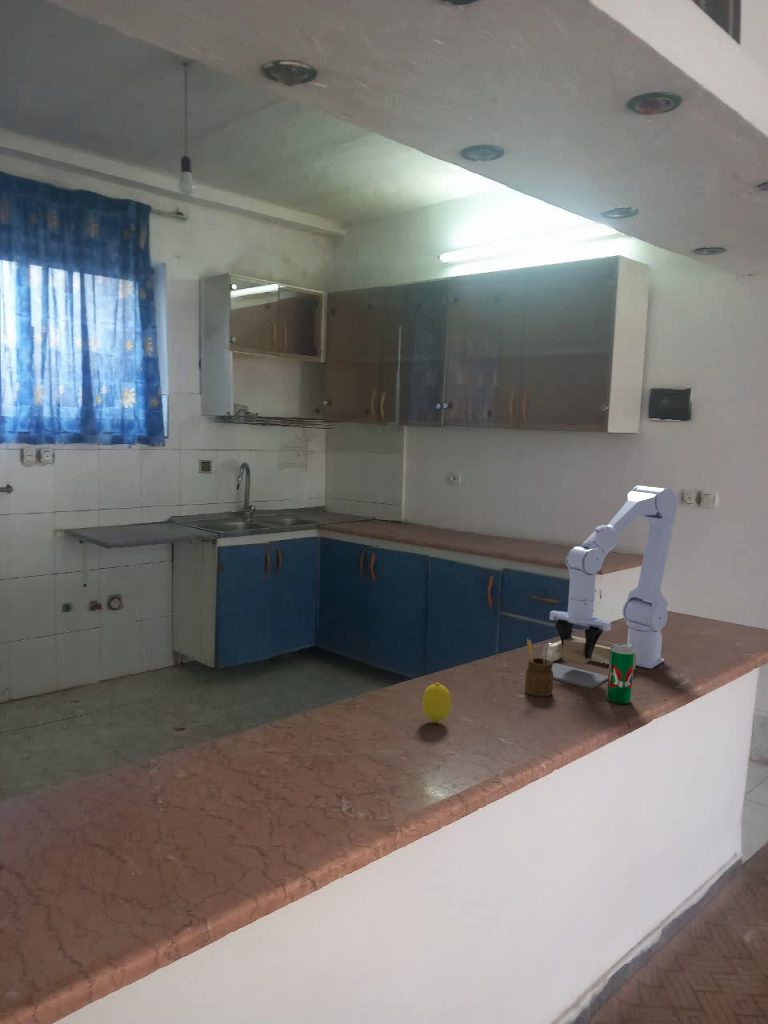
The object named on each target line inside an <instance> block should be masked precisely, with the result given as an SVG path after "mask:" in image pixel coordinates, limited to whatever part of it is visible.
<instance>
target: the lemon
mask: <svg viewBox="0 0 768 1024" xmlns="http://www.w3.org/2000/svg"><path fill="white" fill-rule="evenodd" d="M421 703H422V704H421V705H422V707H421V708H422V711H423V713H424V715H425V717H427V718H428V719H429V720H431V721H432V722H433V723H434V724H437V723H438V722H439V721H443V720H444V719H445V718H447V717H448V715H449V714H450V711H451V707H452V699H451V694H450V691H449V690H448V688H447V687H446V686H445V685H443V684H441V683H440V682H435V683H433V684H431V685H429V686H428V687H427V688H425V691H424V692H423V696H422V701H421Z"/></svg>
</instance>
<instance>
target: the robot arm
mask: <svg viewBox="0 0 768 1024" xmlns="http://www.w3.org/2000/svg"><path fill="white" fill-rule="evenodd" d="M678 503H679V498H678V496H677V495H676V493H675V492H674V490H673V489H672V488H669V487H664V488H663V487H656V486H655V487H654V486H645V485H643V484H639V485H638V484H637V485H636V486H634V487H633V488H632V489H631V491H630V492H628V494H627V496H626V502H625V503H624V504H623V506H622V507H621V508H620V509H619V510H618V512H616V513H615V515H614V516H613V517H612V519H611V520H610V521H609V522H608V523H607V525H605V524H602V525H598V526H596V527H595V528H594V531H593V532H592V533H591V534H590V535H589V536H588V537H587V539H585V540H584V541H583V542H582V544H581V545H580V546H579V545H577V546H574V547H573V548H571V549H570V550H569V552H568V553H567V557H565V564H566V567H567V568H568V575H569V577H570V578H569V589H568V590H569V591H568V604H567V605H568V606H567V611H560V610H552V611H549V620H550V621H557V623H555V624H554V626H555V629H556V631H557V633H558V636H559V638H560V640H561V643H562V648H563V643H564V640H565V639H567V638H569V637H572V631H573V628H574V625H578V626H582V627H587V628H585V629H584V634H585V635H584V636H585V637H584V638H585V639H586V649H585V658H590V657H592V653H593V650H594V647H595V645H597V642H598V640H599V638H600V637H601V635H602V634H603V632H610V631H611V628H612V627H611V626H612V622H611V621H610V620H609V621H608V620H605V619H603V618H598V617H595V616H594V603H595V589H596V587H595V586H596V577H597V576H596V574H597V573H598V572H599V571H601V569H602V567H603V564H604V563H603V562H604V561H605V558H606V556H607V555H608V553H610V552H611V550H612V549H613V548H615V546H616V545H617V544H619V542H620V536H619V535H620V534H622V532H623V531H625V530H626V529H627V528H628V527H630V525H631V524H632V523H633V522H635V521H636V520H637V519H638V518H640V517H641V516H642V518H644V519H645V521H646V522H647V523H648V525H649V530H648V533H647V538H646V544H645V549H644V554H643V559H642V563H641V568H640V573H639V579H638V583H637V587H635V588H634V589H632V590H631V591H629V592H628V594H627V595H628V596H627V598H626V601H624V604H623V607H622V617H623V619H624V620H625V621H626V625H627V626H628V632H627V642H626V644H627V645H630V646H633V647H634V649H633V650H634V652H635V653H636V666H638V667H640V668H641V667H642V668H646V669H650V670H651V669H653V668H655V667H657V665H660V664H662V663H663V662H664V661H665V658H663V657H661V656H662V644H663V633H662V629H663V628H664V627H665V626H666V624H667V621H668V618H669V614H668V605H669V604H668V603H669V601H668V599H667V598H666V597H665V596H664V595H663V593H662V592H661V589H662V585H663V581H664V574H665V570H666V566H667V559H668V555H669V551H670V550H669V549H670V544H671V539H672V534H673V530H674V524H675V517H676V513H677V508H678V505H679V504H678Z"/></svg>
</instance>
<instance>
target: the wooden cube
mask: <svg viewBox="0 0 768 1024" xmlns="http://www.w3.org/2000/svg"><path fill="white" fill-rule="evenodd" d="M585 649H586V637H579V636H575V635H571V637H569V638H567V639H565V640H564V643H563V657H562V658H561V659H562V661H563V662H567V663H571V664H575V665H579V666H585V664H588V663H589V662H592V661H591V658H592V657H590V658H585Z"/></svg>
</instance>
